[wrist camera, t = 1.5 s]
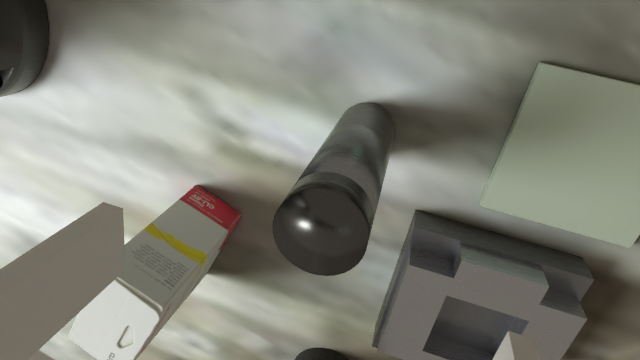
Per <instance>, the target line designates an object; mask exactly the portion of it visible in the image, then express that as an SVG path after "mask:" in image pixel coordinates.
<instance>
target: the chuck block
mask: <svg viewBox="0 0 640 360" xmlns="http://www.w3.org/2000/svg"><path fill="white" fill-rule="evenodd" d="M593 281H594V278H593V276H592V275H591V273H590V271H589V269H588V267H587V265H586V264H585V262H584V260H583V258H581V257H578V256H574V255H571V254H567V253H564V252H561V251H557V250H554V249H550V248H547V247H543V246H540V245H536V244H533V243H529V242H526V241H522V240H519V239H515V238H512V237H508V236H505V235H501V234H498V233H494V232H491V231H487V230H484V229H480V228H477V227H473V226H470V225H466V224H463V223H459V222H456V221H452V220H449V219H445V218H442V217H438V216H435V215H431V214H428V213H424V212H421V211H417V210H415V213H414V216H413V219H412V222H411V225H410V227H409V230H408V233H407V236H406V239H405V242H404V245H403V248H402V250H401V253H400V256H399V259H398V262H397V265H396V268H395V271H394V273H393V276H392V279H391V282H390V285H389V288H388V291H387V294H386V296H385V299H384V302H383V305H382V308H381V311H380V314H379V317H378V319H377V322H376V326H375V332H374V338H373V344H372V346H373V347H376V348H378V352H380V353H383V354H386V355H389V356H392V357H395V358H398V359H401V360H492V359H493V358H494V356H495V354H496V352H497V350H498V349H499V347H500V345H501V343H502V341H503V340H504V338H505V336H506V334H507V332H508V331H510V332H514V333H517V334H520V335H523V336H526V337H529V338H532V339H534V340H535V344H536V347H537V351H538V354H539V358H540V360H561V358H562V357H563V355H564V354H565V352H566V351H567V349H568V348H569V346H570V345H571V343H572V342H573V340H574V339H575V337H576V336H577V334H578V333H579V331H580V330H581V328H582V327H583V325H584V324H585V322H586V321H587V317H586V315H585V313H584V310H583V308H582V306H581V304H580V301H581V300H582V298H583V297H584V295H585V294H586V292H587V290H588V289H589V287H590V286H591V284H592V283H593Z"/></svg>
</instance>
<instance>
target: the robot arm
mask: <svg viewBox="0 0 640 360" xmlns="http://www.w3.org/2000/svg"><path fill="white" fill-rule="evenodd" d="M48 36H49V35H48V19H47V12H46V7H45V3H44V0H0V97H2V96H6V95H9V94H13V93H16V92H19V91H21V90H23V89H24V88H26V87H27V86H29V85H30V84H31V83H32V82H33V81H34V80H35V78H36V77H37V76H38V74H39V72H40V71H41V69H42V66H43V64H44V61H45V58H46V54H47V48H48ZM124 271H125V252H124V223H123V208H120V207H117V206H114V205H111V204H107V203H104V202H103V203H101V204H100V205H98V206H97V207H95V208H94V209H92V210H91V211H89V212H88V213H86V214H85V215H83V216H81V217H80V218H78V219H77V220H75V221H74V222H72V223H71V224H69V225H68V226H66V227H65V228H63V229H61V230H60V231H58V232H57V233H55V234H54V235H52V236H51V237H49V238H48V239H46V240H45V241H43V242H42V243H40V244H38V245H37V246H35V247H34V248H32V249H31V250H29V251H28V252H26V253H25V254H23V255H22V256H20V257H19V258H17V259H15V260H14V261H12V262H11V263H9V264H8V265H6V266H5V267H3V268H2V269H0V360H28V359H29V358H30V357H31V356H32V355H33V354H34V353H35V352H36V351H37V350H39V349H40V348H41V347H42V346H43V345H44V344H45V343H46V342H47V341H48V340H49V339H51V338H52V337H53V336H54V335H55V334H56V333H57V332H58V331H59V330H60V329H61V328H63V327H64V326H65V325H66V324H67V323H68V322H69V321H70V320H71V319H72V318H73V317H75V316H76V315H77V314H78V313H79V312H80V311H81V310H82V309H83V308H84V307H85V306H87V305H88V304H89V303H90V302H91V301H92V300H93V299H94V298H95V297H96V296H97V295H99V294H100V293H101V292H102V291H103V290H104V289H105V288H106V287H107V286H108V285H109V284H111V283H112V282H113V281H114V280H115V279H116V278H117V277H118V276H119V275H120V274H121V273H123V272H124ZM492 360H540V358H539V354H538V351H537V347H536V344H535V340H534V339H532V338H529V337H526V336H523V335H520V334H517V333H514V332H510V331H508V332H507V334H506V336H505V338H504V340H503V341H502V343H501V345H500V347H499V349H498V350H497V352H496V354H495V356H494V358H493V359H492Z"/></svg>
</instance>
